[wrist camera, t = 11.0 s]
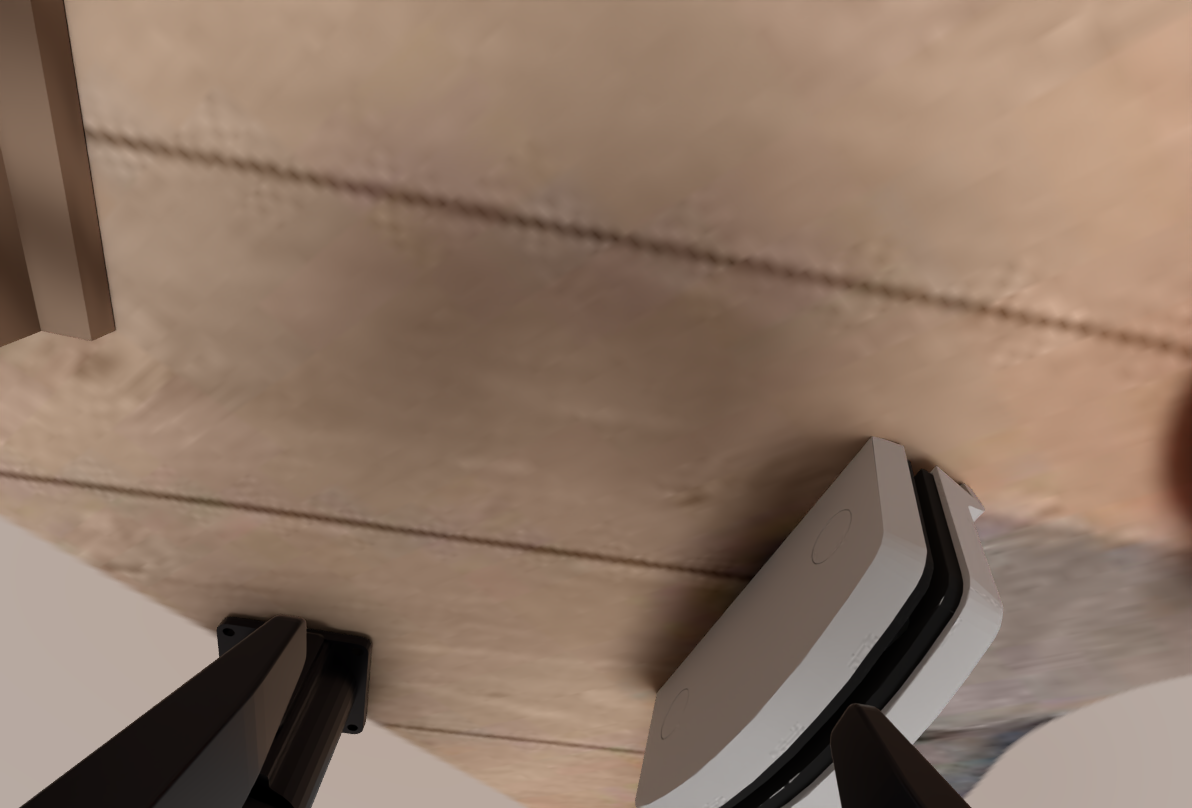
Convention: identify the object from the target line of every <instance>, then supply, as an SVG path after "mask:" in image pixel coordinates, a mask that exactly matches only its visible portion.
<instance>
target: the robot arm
mask: <svg viewBox="0 0 1192 808" xmlns="http://www.w3.org/2000/svg"><path fill="white" fill-rule="evenodd" d="M217 638H218V648H219V658H218V659H217V660H215V661H214V662H213V663H211V664H210V665H209V666H207V667H206V668H205V669H203V670H202V671H201V672H199V673H198V674H197V675H195V676H194V677H193V678H191V679H190V680H189V681H187V682H186V683H185V684H183V685H182V686H181V687H179V688H178V689H177V690H175V691H174V692H173V693H171V694H170V695H169V696H167V697H166V698H165V699H163V700H162V701H161V702H159V703H158V704H157V705H155V706H154V707H153V708H152V709H150V710H149V711H147V712H146V713H145V714H144V715H142V716H141V717H139V718H138V719H137V720H135V721H134V722H133V723H131V724H130V725H129V726H127V727H126V728H125V729H123V730H122V731H121V732H119V733H118V734H117V735H115V736H114V737H113V738H111V739H110V740H109V741H108V742H106V743H105V744H103V745H102V746H101V747H100V748H98V749H97V750H95V751H94V752H93V753H91V754H90V755H89V756H87V757H86V758H85V759H83V760H82V761H81V762H80V763H78V764H77V765H75V766H74V767H73V768H71V769H70V770H69V771H67V772H66V773H65V774H64V775H62V776H61V777H59V778H58V779H57V780H55V781H54V782H53V783H51V784H50V785H49V786H48V787H46V788H45V789H43V790H42V791H41V792H40V793H38V794H37V795H36V796H34V797H33V798H32V799H30V800H29V801H28V802H26V803H25V804H24V805H22V806H21V807H20V808H311V807H312V804H313V802H314V799H315V797H316V794H317V792H318V789H319V787H320V784H321V782H322V779H323V777H324V775H325V772H326V770H327V767H328V765H329V762H330V760H331V758H332V755H333V753H334V750H335V747H336V745H337V743H338V740H339V738H340V736H341V733H350V734H358V733H360V732H362V730H363V728H364V725H365V722H366V714H367V701H368V688H369V675H370V662H371V650H372V645H371V642H370V641H369V640H368V639H366V638H364V637H359V636H353V635H347V634H340V633H334V632H327V631H321V630H314V629H308V628H306V621H305V619H304V618H301V617H296V616H289V615H277V616H274V617H273V618H271V619H270V620H268V621H267V622H263V621H256V620H250V619H243V618H237V617H227V618H225V619H223V620H222V622H221V623H220V625H219V626H218V627H217ZM830 747H831V753H832V759H833V764H834V770H835V775H836V780H837V786H838V791H839V797H840V802H841V808H971V807H970V806H969V805H968V804H967V803H966V802H965V800H964V799H963V798H962V797H961V796H960V795H959V794H958V793H957V792H956V791H955V790H954V789H953V788H952V787H951V785H950V784H949V783H948V782H947V781H946V780H945V779H944V778H943V777H942V776H941V775H940V774H939V773H938V772H937V771H936V769H935V768H934V767H933V766H932V765H931V764H930V763H929V762H928V761H927V760H926V759H925V758H924V757H923V756H922V754H921V753H920V752H919V751H918V750H917V749H916V748H915V747H914V746H913V745H912V744H911V743H910V742H909V741H908V740H907V738H906V737H905V736H904V735H903V734H902V733H901V732H900V731H899V730H898V729H897V728H896V727H895V726H894V725H893V723H892V722H891V721H890V720H889V719H888V718H887V717H886V716H885V715H884V714H883V713H882V712H881V711H880V710H879V709H878V708H876V707H874V706H870V705H863V704H857V703H853V704H851V705H849V706H848V708H847V709H846V711H845V712H844V714H843V715H842V717H841V718H840V720H839V721H838V723H837V724H836V726H835V727H834V729H833V730H832V733H831V737H830Z"/></svg>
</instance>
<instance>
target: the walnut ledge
mask: <svg viewBox="0 0 1192 808" xmlns="http://www.w3.org/2000/svg"><path fill="white" fill-rule="evenodd" d="M40 331H44V332H49V333H54V334H59V335H64V336H69V337H74V338H79V339H84V340H89V341H93V340H95V339H97V338H99V337H102V336H104V335H106V334H108V333H110V332H113V331H115V327H114V320H113V314H112V308H111V301H110V295H109V289H108V283H107V276H106V270H105V264H104V257H103V251H102V245H101V238H100V232H99V226H98V220H97V213H96V207H95V201H94V194H93V188H92V182H91V175H90V169H89V163H88V157H87V150H86V144H85V138H84V131H83V125H82V119H81V112H80V106H79V100H78V94H77V87H76V81H75V75H74V68H73V62H72V56H71V49H70V43H69V37H68V30H67V24H66V18H65V12H64V5H63V0H0V347H2V346H4V345H7V344H9V343H12V342H14V341H17V340H19V339H22V338H24V337H27V336H30V335H32V334H35V333H37V332H40Z"/></svg>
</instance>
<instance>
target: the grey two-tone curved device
mask: <svg viewBox="0 0 1192 808" xmlns="http://www.w3.org/2000/svg"><path fill="white" fill-rule="evenodd" d="M984 511H985V508H984V506H983V505H982V503H981V502H980V500H979V499H978V498H977V496H976V495H975V493H974V492H973V490H972V489H971V488H970V487H968V486H967V485H966V484H965V483H962V484H961V485H960V486H959V485H958V484H957V483H956V482H955V481H954V480H953V479H951V478H950V477H949V476H948V475H947V474H946V473H945V472H943V471H942V470H941V469H940V468H939V467H938V466H935V467H934V468H933V470H932V471H931V472H930V473H929V472H927V471H926V470H924V469H921V470H920V471H919V472H918V473H917V474H916V475H915V476H914V475H913V471H912V466H911V462H910V461H909V460H907V458H906V453H905V448H904V446H902V445H899V444H897V443H894V442H891V441H888V440H886V439H883V438H878V437H873V436H872V437H871V438H870V439H869V440H868V441H867V443H866V444H865V445H864V446H863V447H862V449H861V450H860V451H859V452H858V453H857V455H856V456H855V457H854V458H853V459H852V461H851V462H850V463H849V464H848V465H847V467H846V468H845V469H844V470H843V471H842V473H841V474H840V475H839V476H838V477H837V479H836V480H835V481H834V482H833V483H832V484H831V486H830V487H829V488H828V489H827V490H826V492H825V493H824V494H823V495H822V496H821V498H820V499H819V500H818V501H817V502H816V504H815V505H814V506H813V507H812V508H811V510H810V511H809V512H808V513H807V514H806V516H805V517H804V518H803V519H802V520H801V521H800V523H799V524H798V525H797V526H796V527H795V529H794V530H793V531H792V532H791V533H790V535H789V536H788V537H787V538H786V539H785V541H784V542H783V543H782V544H781V545H780V547H779V548H778V549H777V550H776V551H775V553H774V554H773V555H772V556H771V557H770V559H769V560H768V561H767V562H766V563H765V564H764V566H763V567H762V568H761V569H760V570H759V572H758V573H757V574H756V575H755V576H754V578H753V579H752V580H751V581H750V582H749V584H748V585H747V586H746V587H745V588H744V590H743V591H742V592H741V593H740V594H739V596H738V597H737V598H736V599H735V600H734V602H733V603H732V604H731V605H730V606H729V607H728V609H727V610H726V611H725V612H724V613H723V615H722V616H721V617H720V618H719V619H718V621H717V622H716V623H715V624H714V625H713V627H712V628H711V629H710V630H709V631H708V633H707V634H706V635H705V636H704V637H703V639H702V640H701V641H700V642H699V643H698V644H697V646H696V647H695V648H694V649H693V650H692V652H691V653H690V654H689V655H688V656H687V658H686V659H685V660H684V661H683V662H682V664H681V665H680V666H679V667H678V668H677V670H676V671H675V672H674V673H673V674H672V676H671V677H670V678H669V679H668V680H667V682H666V683H665V684H664V685H663V686H662V687H661V689H660V690H659V691H658V692H657V695H656V700H655V705H654V710H653V715H652V720H651V725H650V730H649V735H648V740H647V744H646V749H645V754H644V759H643V764H642V769H641V774H640V779H639V784H638V789H637V794H636V799H635V804H636V807H637V808H841V802H840V797H839V791H838V786H837V780H836V775H835V770H834V764H833V759H832V753H831V747H830V737H831V733H832V730H833V729H834V727H835V726H836V724H837V723H838V721H839V720H840V718H841V717H842V715H843V714H844V712H845V711H846V709H847V708H848V706H849V705H851V704H853V703H857V704H863V705H870V706H874V707H876V708H878V709H879V710H880V711H881V712H882V713H883V714H884V715H885V716H886V717H887V718H888V719H889V720H890V721H891V722H892V723H893V725H894V726H895V727H896V728H897V729H898V730H899V731H900V732H901V733H902V734H903V735H904V736H905V737H906V738H907V740H908V741H909V742H910V743H911V744H913V743H914V742H915V741H916V740H917V739H918V738H919V737H920V735H921V734H922V733H923V732H924V731H925V730H926V729H927V728H928V726H929V725H930V724H931V723H932V722H933V721H934V720H935V718H936V717H937V716H938V715H939V714H940V712H941V711H942V710H943V708H944V707H945V706H946V705H947V703H948V702H949V701H950V699H951V698H952V697H953V695H954V694H955V693H956V692H957V690H958V689H959V688H960V686H961V685H962V684H963V682H964V681H965V680H966V679H967V677H968V676H969V674H970V673H971V672H972V670H973V669H974V667H975V666H976V664H977V663H978V662H979V660H980V659H981V657H982V656H983V654H984V653H985V652H986V650H987V649H988V647H989V646H990V644H991V643H992V642H993V640H994V639H995V637H996V635H997V633H998V631H999V629H1000V627H1001V622H1002V617H1003V604H1002V602H1001V599H1000V596H999V593H998V590H997V587H996V585H995V582H994V579H993V576H992V573H991V570H990V567H989V565H988V562H987V559H986V556H985V553H984V550H983V548H982V545H981V542H980V539H979V536H978V533H977V531H976V528H975V525H974V521H975V520H976V519H977V518H978V517H979V516H980V515H981V514H982V513H983V512H984Z"/></svg>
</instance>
